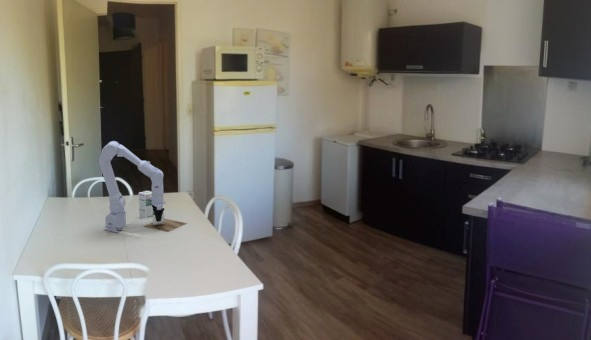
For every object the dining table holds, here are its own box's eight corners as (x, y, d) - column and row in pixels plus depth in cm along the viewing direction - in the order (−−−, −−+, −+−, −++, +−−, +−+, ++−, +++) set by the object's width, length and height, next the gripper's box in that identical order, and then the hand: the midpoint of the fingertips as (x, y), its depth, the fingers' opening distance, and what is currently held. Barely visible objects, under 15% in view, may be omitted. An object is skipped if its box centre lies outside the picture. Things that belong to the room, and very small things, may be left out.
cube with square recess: (164, 223, 246) (164, 214, 245) (153, 224, 244) (153, 215, 243) (163, 220, 251) (163, 211, 250) (152, 221, 249) (152, 212, 248)
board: (168, 234, 238) (167, 231, 238) (142, 229, 244) (142, 226, 244) (187, 226, 253) (187, 223, 252) (163, 221, 259) (163, 218, 259)
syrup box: (145, 220, 259) (145, 194, 256) (139, 217, 263) (138, 192, 260) (154, 217, 264) (154, 192, 261) (147, 215, 267) (147, 190, 264)
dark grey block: (161, 225, 247) (161, 216, 246) (155, 226, 246) (155, 216, 245) (160, 223, 249) (160, 214, 248) (155, 224, 248) (154, 215, 247)
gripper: (167, 197, 239) (167, 223, 242) (164, 190, 252) (164, 214, 255) (152, 197, 237) (153, 224, 239) (150, 190, 250) (150, 215, 253)
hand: (158, 219), depth 247 cm, fingers closed on cube with square recess, 5 cm apart
